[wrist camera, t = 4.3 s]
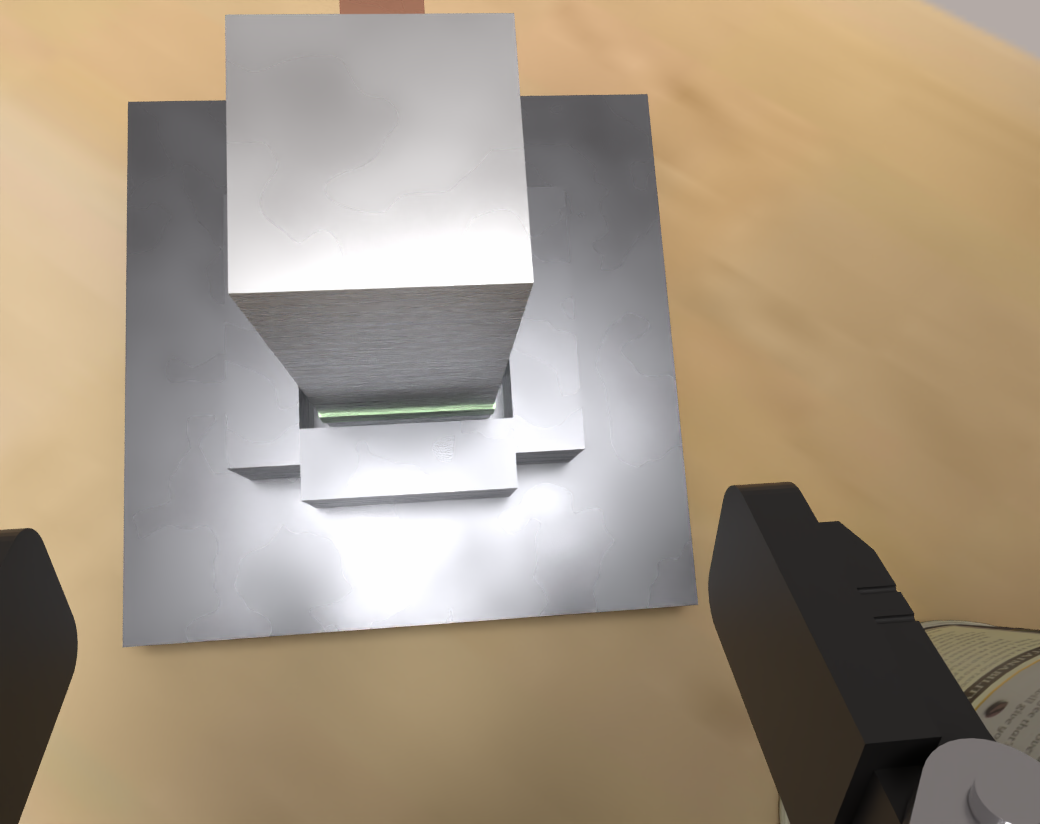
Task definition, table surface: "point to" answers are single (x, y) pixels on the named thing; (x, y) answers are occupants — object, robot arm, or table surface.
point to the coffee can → (992, 679)
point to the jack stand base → (402, 446)
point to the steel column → (379, 207)
